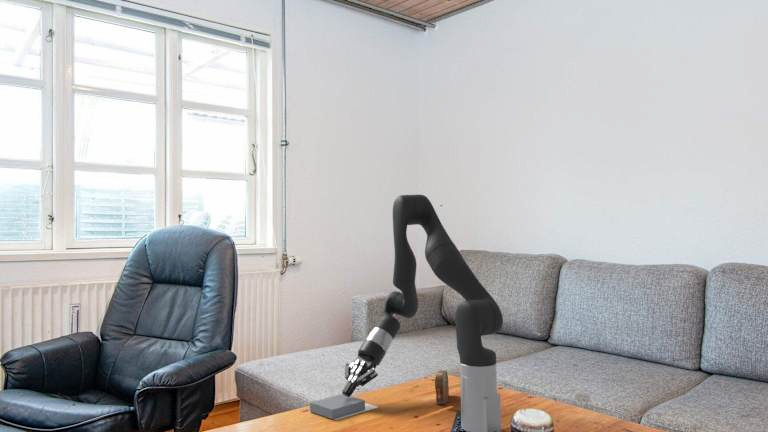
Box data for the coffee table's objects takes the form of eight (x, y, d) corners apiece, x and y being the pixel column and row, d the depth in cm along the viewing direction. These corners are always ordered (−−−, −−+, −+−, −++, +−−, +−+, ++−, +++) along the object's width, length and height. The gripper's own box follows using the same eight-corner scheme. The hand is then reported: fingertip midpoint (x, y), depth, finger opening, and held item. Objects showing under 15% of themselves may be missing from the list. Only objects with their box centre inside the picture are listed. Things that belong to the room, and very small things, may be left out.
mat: (378, 409, 161) (378, 407, 161) (335, 422, 150) (335, 420, 150) (351, 401, 170) (351, 399, 170) (309, 412, 159) (309, 410, 159)
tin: (445, 408, 161) (444, 379, 161) (434, 408, 162) (433, 379, 162) (449, 394, 176) (449, 367, 176) (439, 394, 176) (439, 367, 177)
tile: (364, 400, 159) (332, 409, 151) (365, 409, 159) (332, 419, 150) (342, 393, 166) (310, 402, 158) (342, 402, 166) (310, 411, 158)
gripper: (354, 336, 173) (323, 383, 163) (384, 341, 163) (353, 392, 154) (367, 350, 176) (338, 398, 167) (397, 356, 167) (367, 407, 157)
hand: (345, 395), depth 160 cm, fingers closed
